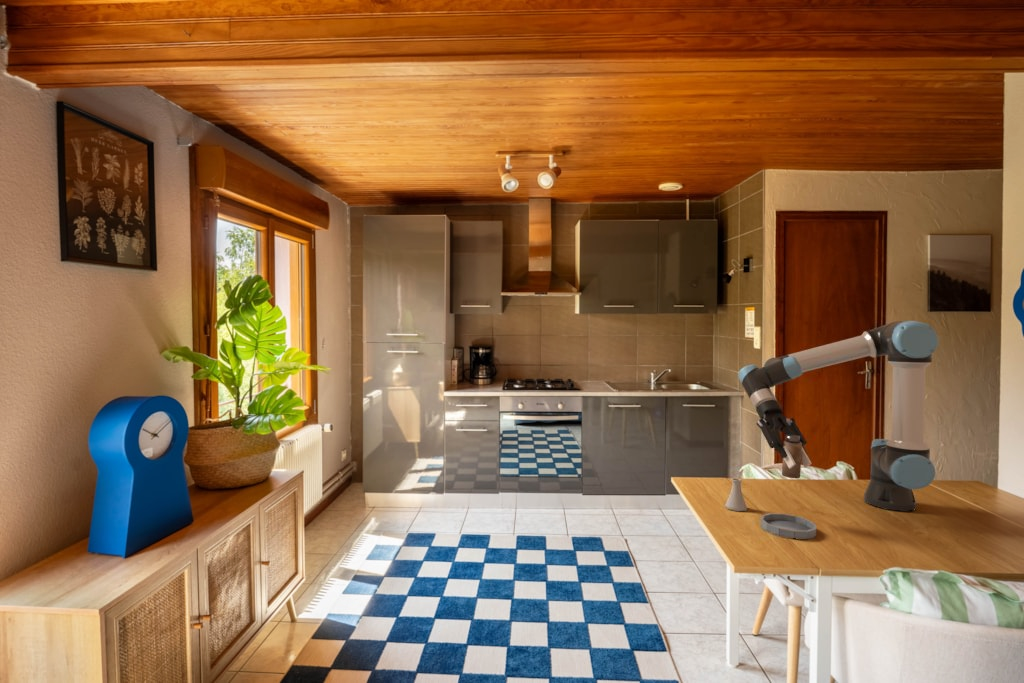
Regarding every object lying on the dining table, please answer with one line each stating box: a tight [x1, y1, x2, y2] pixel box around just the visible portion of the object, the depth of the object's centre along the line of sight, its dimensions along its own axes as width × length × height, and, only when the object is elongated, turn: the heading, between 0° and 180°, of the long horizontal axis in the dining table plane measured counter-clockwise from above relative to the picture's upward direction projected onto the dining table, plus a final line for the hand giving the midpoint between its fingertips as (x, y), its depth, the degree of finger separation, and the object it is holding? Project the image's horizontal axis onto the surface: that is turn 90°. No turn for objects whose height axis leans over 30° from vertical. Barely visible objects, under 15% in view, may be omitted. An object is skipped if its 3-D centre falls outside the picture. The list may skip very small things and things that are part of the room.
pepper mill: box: [781, 434, 802, 479], centre depth 171 cm, size 5×5×13 cm
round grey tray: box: [760, 512, 817, 540], centre depth 164 cm, size 15×15×2 cm
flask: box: [724, 477, 748, 512], centre depth 183 cm, size 7×7×10 cm
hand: (800, 465), depth 168 cm, fingers closed on pepper mill, 5 cm apart
